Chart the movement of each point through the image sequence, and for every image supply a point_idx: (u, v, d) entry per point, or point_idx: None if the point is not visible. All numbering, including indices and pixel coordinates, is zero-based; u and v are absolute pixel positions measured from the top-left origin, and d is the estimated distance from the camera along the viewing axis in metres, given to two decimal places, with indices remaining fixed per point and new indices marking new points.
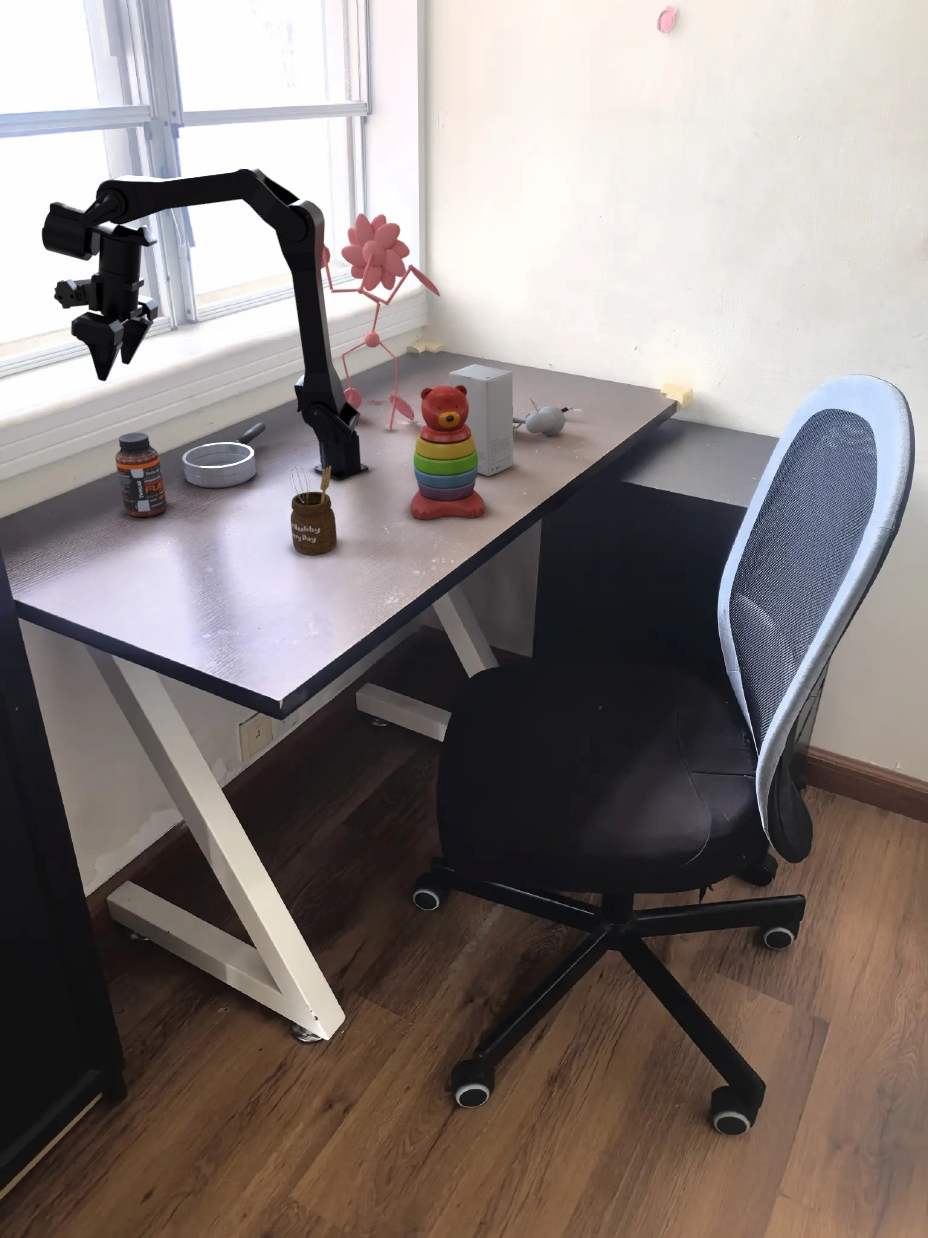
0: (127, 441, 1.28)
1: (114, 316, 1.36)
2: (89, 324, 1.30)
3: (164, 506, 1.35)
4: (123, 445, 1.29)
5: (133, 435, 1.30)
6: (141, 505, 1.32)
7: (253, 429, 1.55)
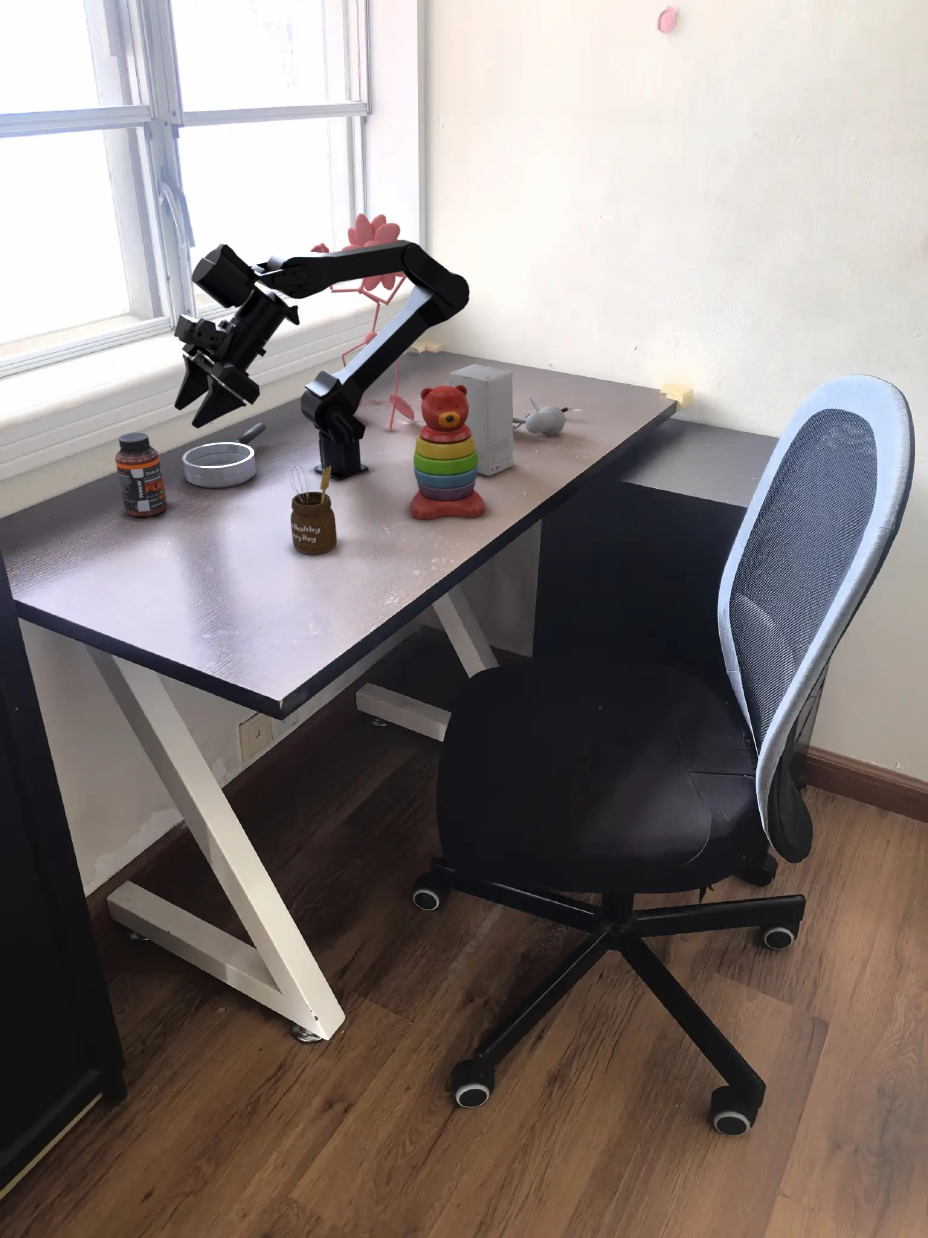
0: (127, 441, 1.28)
1: None
2: (243, 378, 1.25)
3: (164, 506, 1.35)
4: (123, 445, 1.29)
5: (133, 435, 1.30)
6: (141, 505, 1.32)
7: (253, 429, 1.55)
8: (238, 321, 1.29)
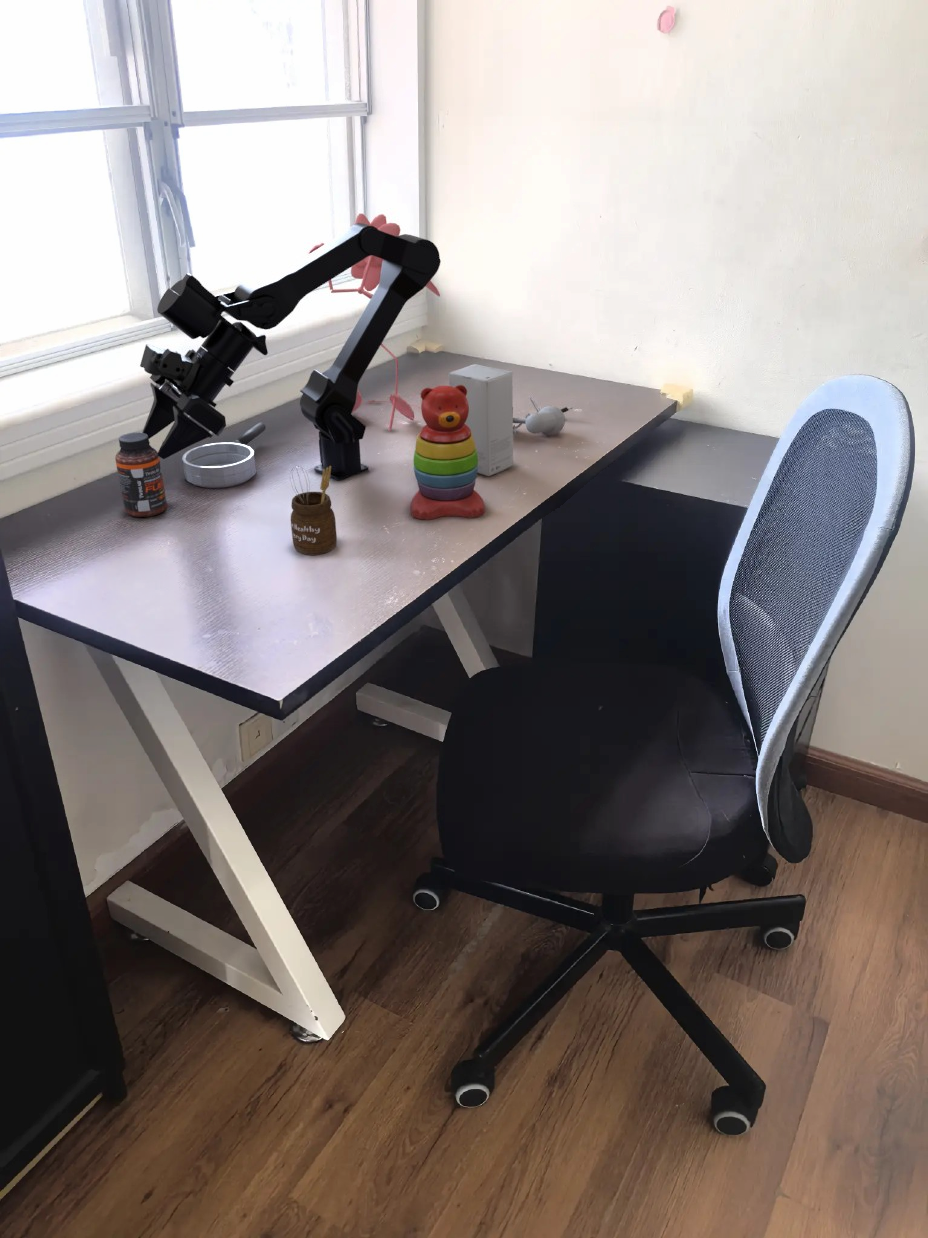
0: (127, 441, 1.28)
1: None
2: (209, 409, 1.24)
3: (164, 506, 1.35)
4: (123, 445, 1.29)
5: (133, 435, 1.30)
6: (141, 505, 1.32)
7: (253, 429, 1.55)
8: (205, 351, 1.28)
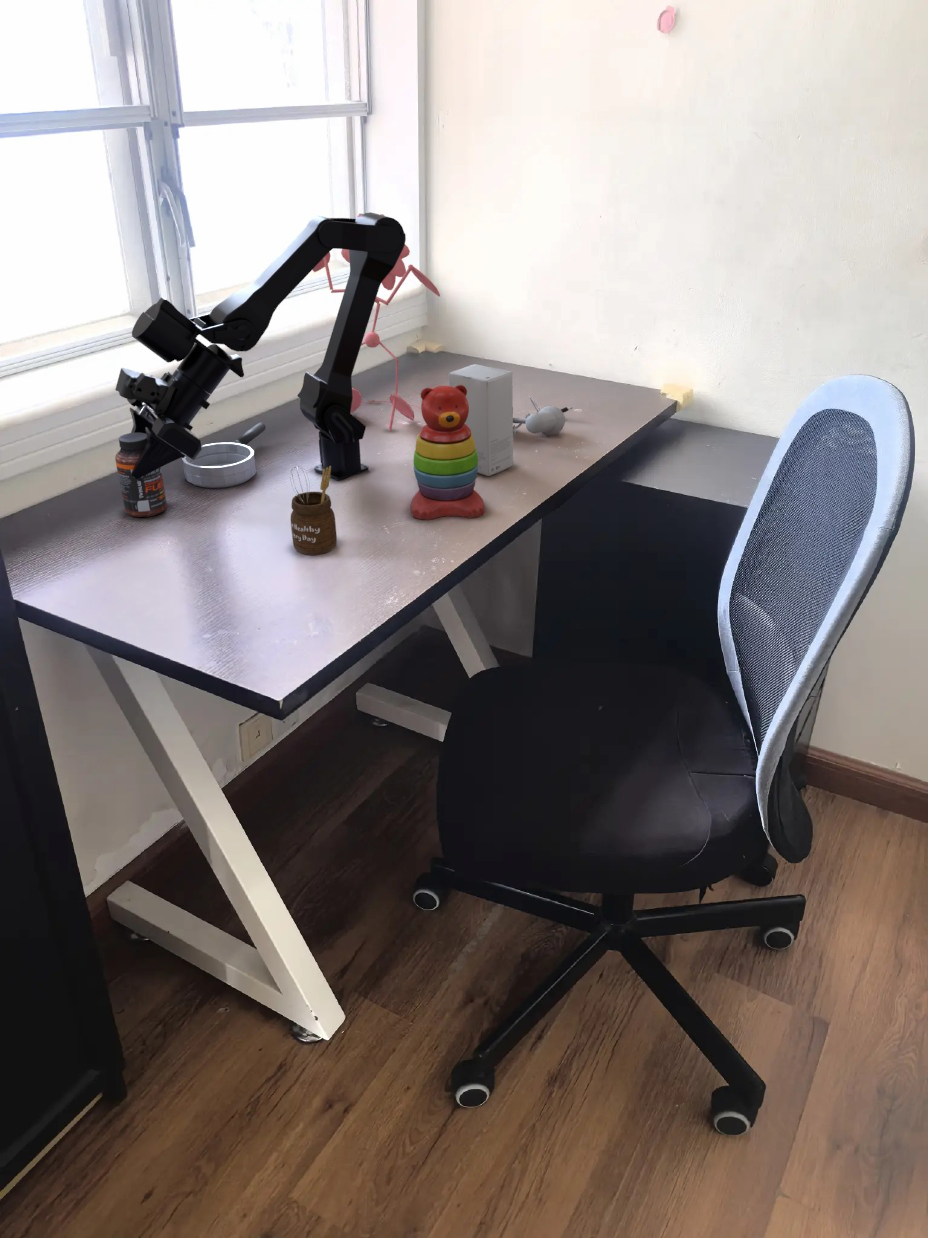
0: (127, 441, 1.28)
1: None
2: (184, 434, 1.24)
3: (164, 506, 1.35)
4: (123, 445, 1.29)
5: (133, 435, 1.30)
6: (141, 505, 1.32)
7: (253, 429, 1.55)
8: (180, 375, 1.28)
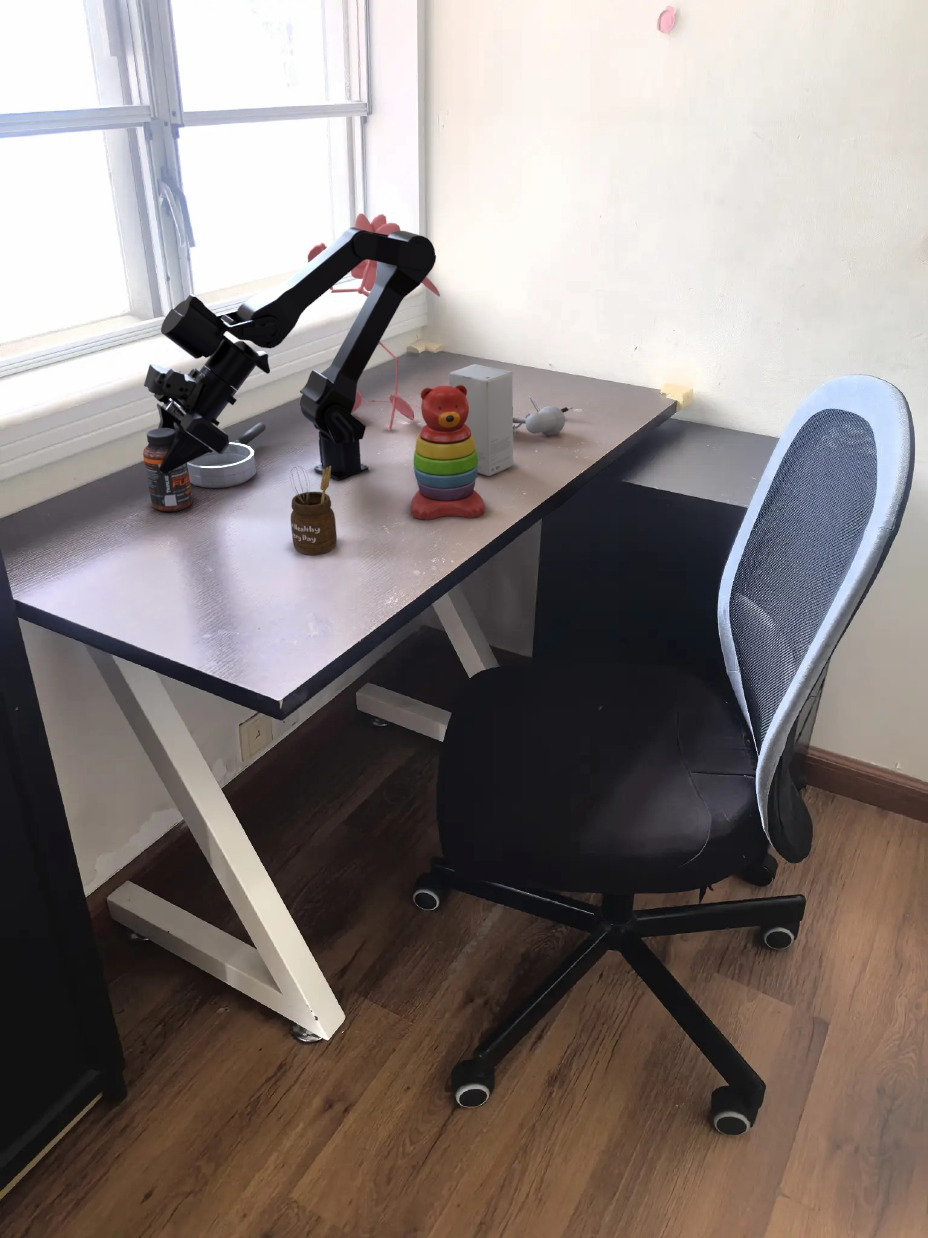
0: (155, 436, 1.30)
1: None
2: (212, 429, 1.26)
3: (190, 501, 1.36)
4: (151, 440, 1.30)
5: (160, 431, 1.32)
6: (168, 499, 1.34)
7: (253, 429, 1.55)
8: (208, 371, 1.30)
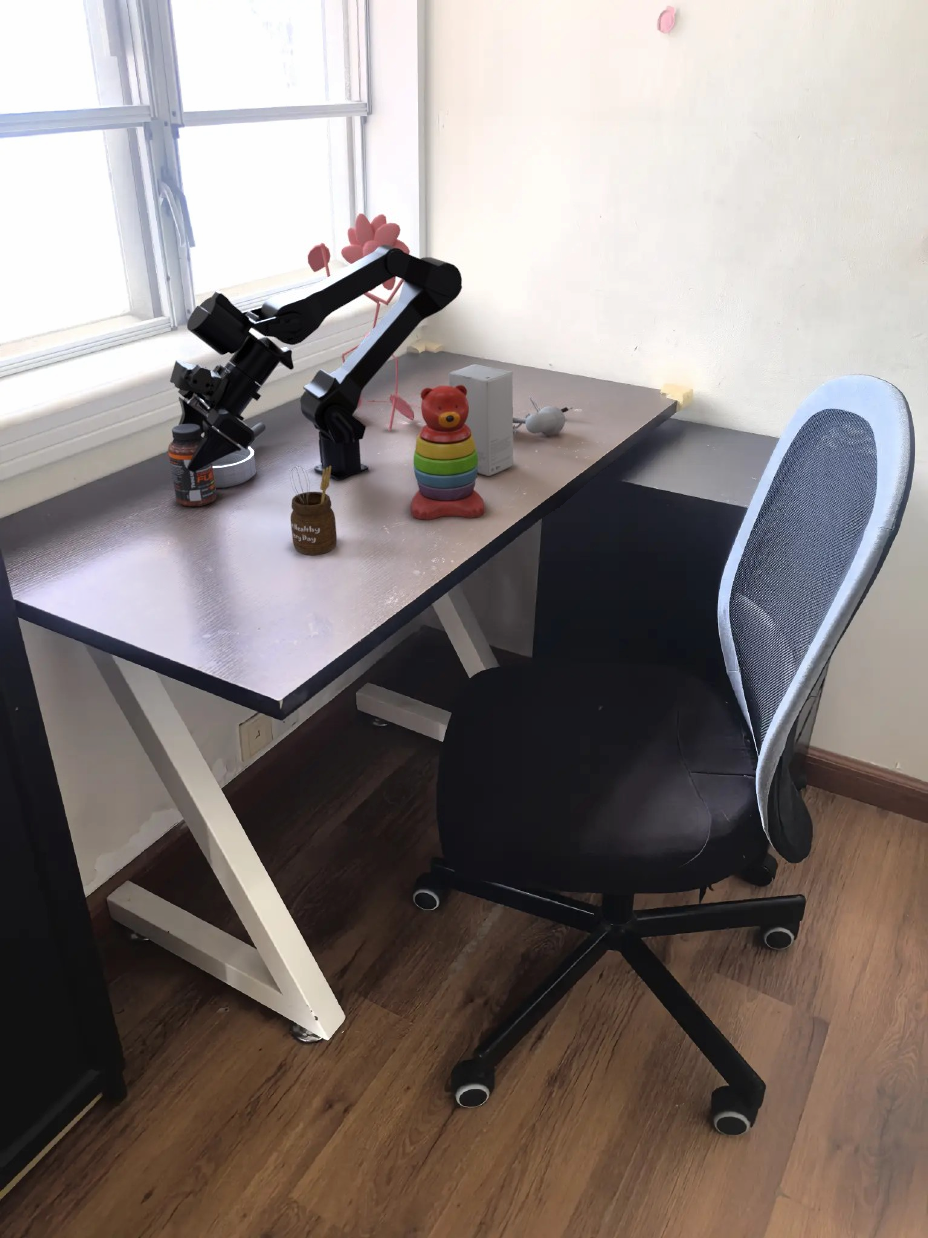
0: (180, 432, 1.31)
1: None
2: (238, 424, 1.27)
3: (214, 496, 1.38)
4: (177, 436, 1.32)
5: (185, 426, 1.33)
6: (192, 494, 1.35)
7: (253, 429, 1.55)
8: (233, 367, 1.31)
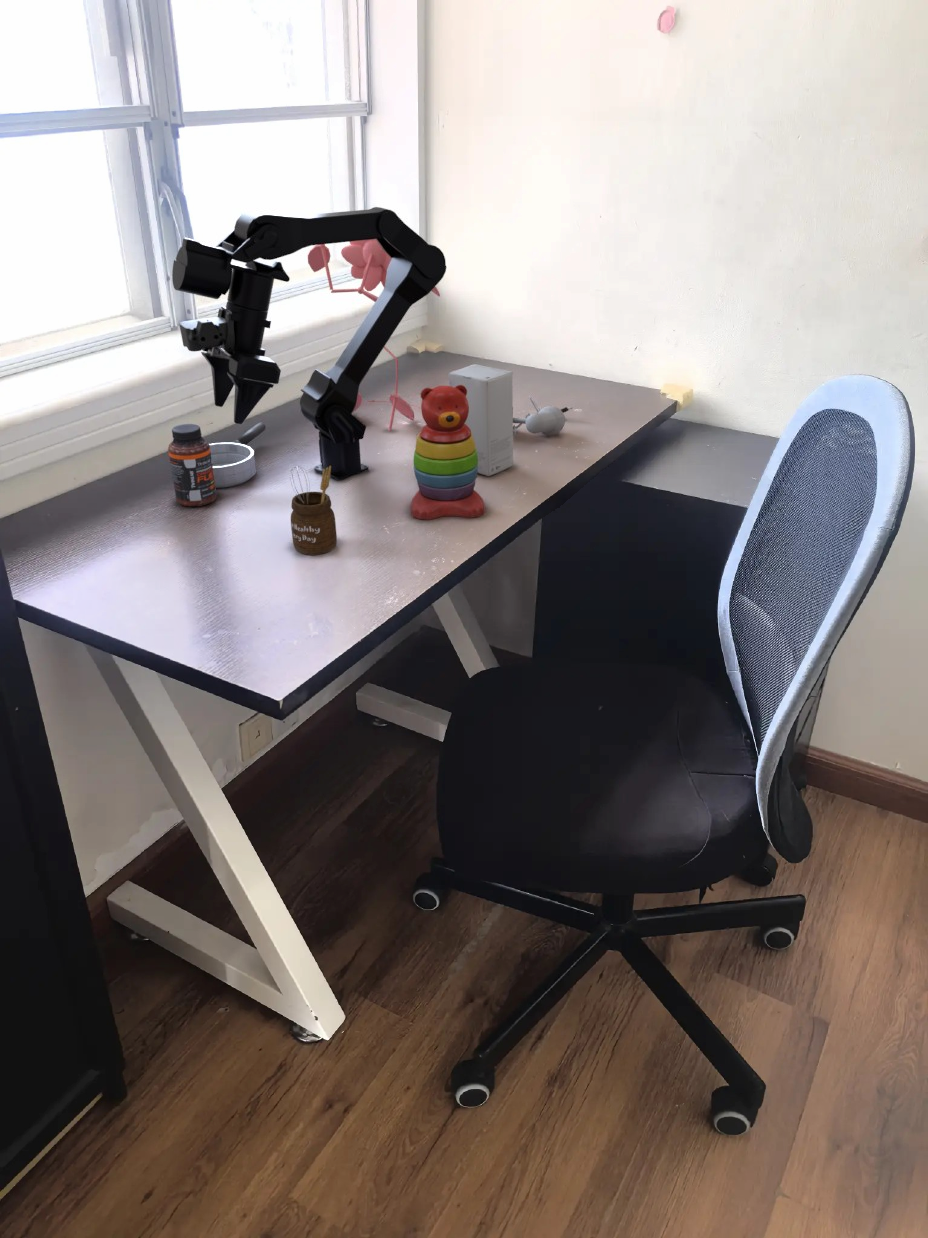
0: (180, 432, 1.31)
1: None
2: (259, 363, 1.25)
3: (214, 496, 1.38)
4: (177, 436, 1.32)
5: (185, 426, 1.33)
6: (192, 494, 1.35)
7: (253, 429, 1.55)
8: (233, 305, 1.27)
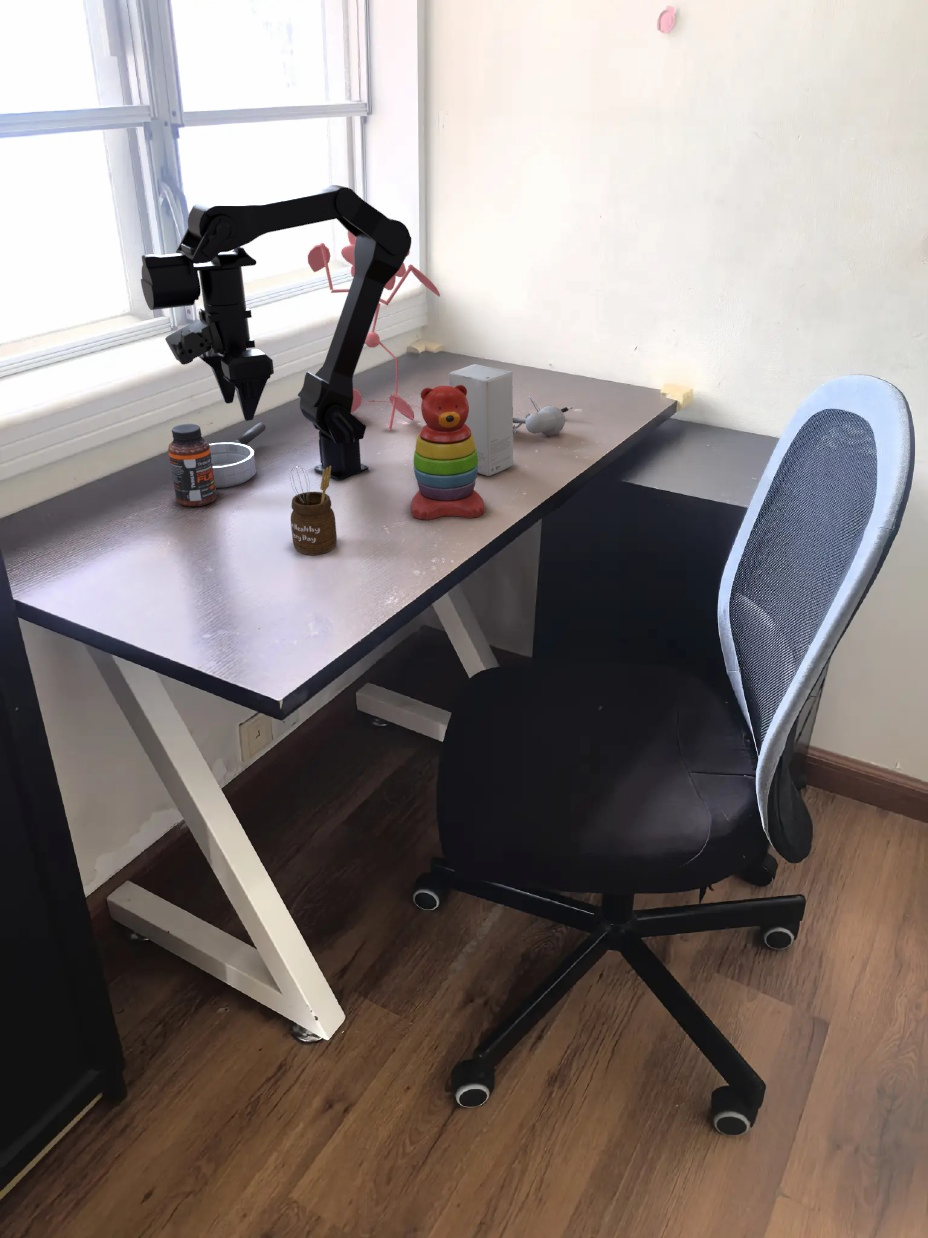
0: (180, 432, 1.31)
1: (241, 349, 1.29)
2: (249, 361, 1.24)
3: (214, 496, 1.38)
4: (177, 436, 1.32)
5: (185, 426, 1.33)
6: (192, 494, 1.35)
7: (253, 429, 1.55)
8: (209, 307, 1.26)
